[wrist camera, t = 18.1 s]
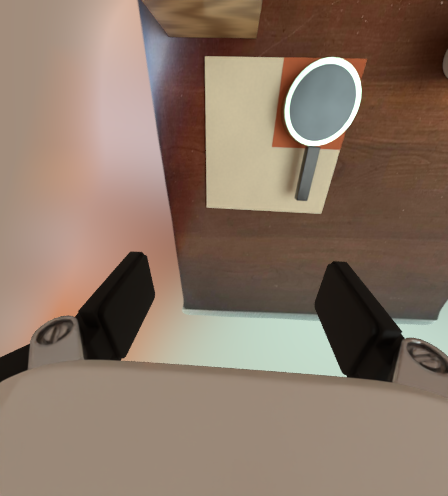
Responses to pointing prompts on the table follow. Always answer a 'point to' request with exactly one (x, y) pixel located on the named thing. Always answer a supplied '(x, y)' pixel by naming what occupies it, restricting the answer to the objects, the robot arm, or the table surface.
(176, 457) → the robot arm
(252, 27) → the block
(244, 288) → the table surface
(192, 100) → the table surface
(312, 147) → the pan
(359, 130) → the table surface
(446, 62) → the coffee cup
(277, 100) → the mat
